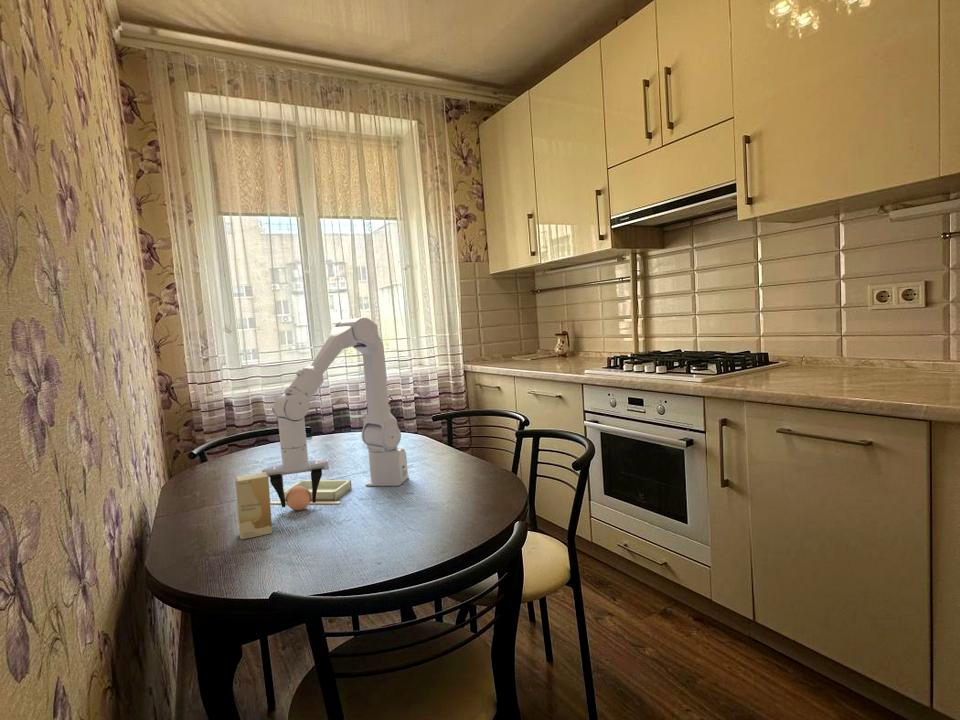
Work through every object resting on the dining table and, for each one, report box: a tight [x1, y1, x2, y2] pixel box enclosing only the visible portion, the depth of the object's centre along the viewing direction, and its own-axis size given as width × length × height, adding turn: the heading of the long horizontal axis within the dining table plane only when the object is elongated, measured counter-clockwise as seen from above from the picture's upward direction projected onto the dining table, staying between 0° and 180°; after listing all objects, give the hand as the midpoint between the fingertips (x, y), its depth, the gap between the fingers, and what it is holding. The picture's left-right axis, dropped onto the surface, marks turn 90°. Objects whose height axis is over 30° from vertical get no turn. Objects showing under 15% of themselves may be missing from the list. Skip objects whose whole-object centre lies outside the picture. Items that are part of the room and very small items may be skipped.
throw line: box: [270, 500, 341, 505], centre depth 132 cm, size 18×1×1 cm, turn 79°
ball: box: [286, 486, 311, 511], centre depth 127 cm, size 6×6×6 cm
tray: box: [284, 479, 352, 501], centre depth 138 cm, size 14×10×2 cm
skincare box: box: [234, 471, 273, 540], centre depth 113 cm, size 6×4×12 cm
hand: (299, 503), depth 127 cm, fingers open, 6 cm apart
